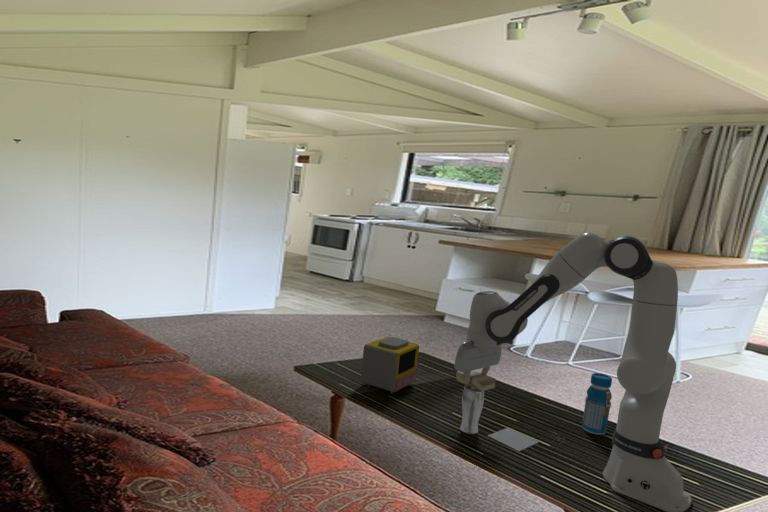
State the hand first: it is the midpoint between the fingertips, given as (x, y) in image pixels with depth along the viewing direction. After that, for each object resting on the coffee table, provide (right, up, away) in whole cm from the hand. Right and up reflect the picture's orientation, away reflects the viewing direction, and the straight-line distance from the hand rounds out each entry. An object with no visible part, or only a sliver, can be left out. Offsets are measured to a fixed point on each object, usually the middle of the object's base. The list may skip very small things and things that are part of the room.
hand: (475, 380), depth 169 cm
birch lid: (0, -1, 0) cm, 1 cm away
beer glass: (-2, -18, +2) cm, 18 cm away
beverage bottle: (+44, -21, +14) cm, 51 cm away
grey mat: (+12, -19, -1) cm, 23 cm away
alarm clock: (-28, -11, +37) cm, 48 cm away
